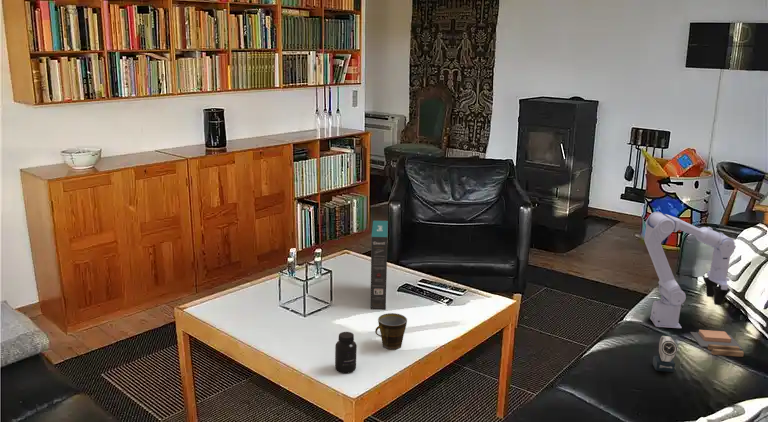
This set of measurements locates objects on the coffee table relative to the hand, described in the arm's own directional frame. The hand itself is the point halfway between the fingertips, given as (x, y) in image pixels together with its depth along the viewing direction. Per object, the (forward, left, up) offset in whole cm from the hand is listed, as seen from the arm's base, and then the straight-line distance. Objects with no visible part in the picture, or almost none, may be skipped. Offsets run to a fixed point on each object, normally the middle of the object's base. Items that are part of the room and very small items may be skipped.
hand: (713, 300), depth 237 cm
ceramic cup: (-119, -38, -10) cm, 125 cm away
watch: (-28, -38, -10) cm, 48 cm away
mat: (-3, -15, -10) cm, 18 cm away
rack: (-3, -23, -10) cm, 25 cm away
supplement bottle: (-131, -55, -10) cm, 142 cm away
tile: (-3, -16, -9) cm, 18 cm away
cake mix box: (-128, +3, -10) cm, 128 cm away
